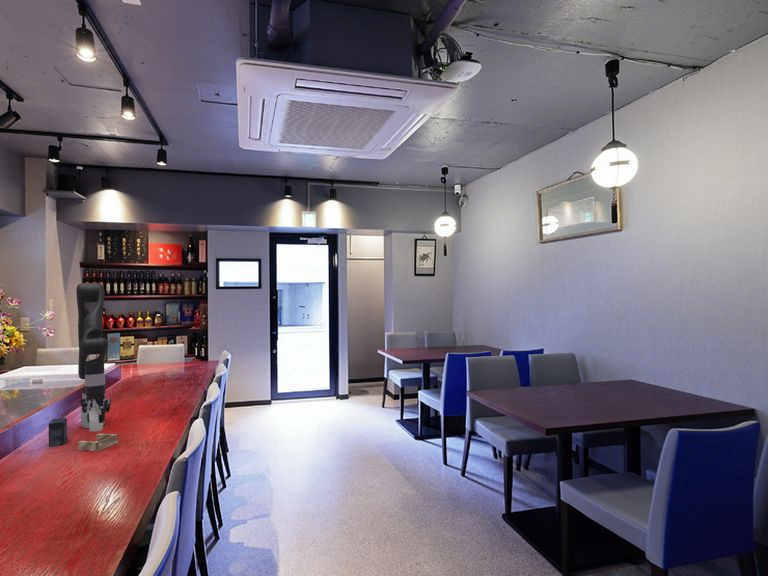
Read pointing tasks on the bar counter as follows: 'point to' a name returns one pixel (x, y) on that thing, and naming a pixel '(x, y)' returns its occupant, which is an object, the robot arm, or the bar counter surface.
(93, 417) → the bottle
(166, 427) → the bar counter surface
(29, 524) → the bar counter surface
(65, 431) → the box
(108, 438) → the rest
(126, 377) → the bar counter surface
